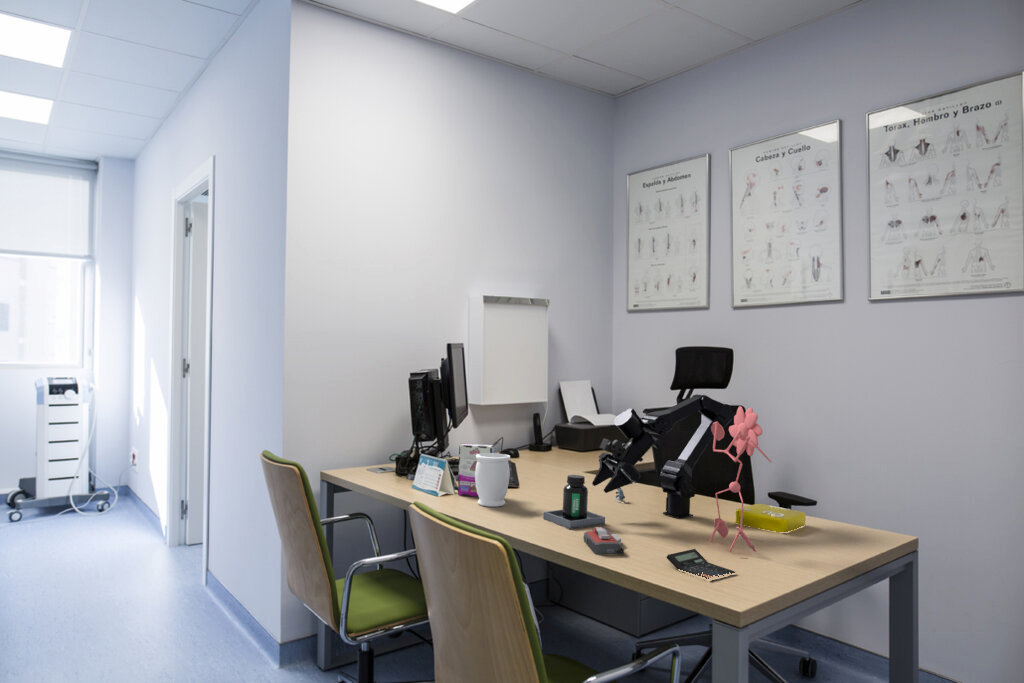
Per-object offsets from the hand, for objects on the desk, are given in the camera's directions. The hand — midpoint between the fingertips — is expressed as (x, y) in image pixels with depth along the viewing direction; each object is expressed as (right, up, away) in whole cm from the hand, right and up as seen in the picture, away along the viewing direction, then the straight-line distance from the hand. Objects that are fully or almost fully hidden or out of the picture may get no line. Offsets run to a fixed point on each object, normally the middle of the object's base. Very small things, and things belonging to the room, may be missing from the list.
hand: (598, 488), depth 185 cm
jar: (-31, -9, +16) cm, 36 cm away
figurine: (+34, -10, -21) cm, 41 cm away
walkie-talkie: (-2, -9, -23) cm, 25 cm away
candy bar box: (-36, -9, +28) cm, 47 cm away
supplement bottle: (-7, -8, -2) cm, 11 cm away
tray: (-7, -9, -2) cm, 12 cm away
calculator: (+17, -9, -41) cm, 45 cm away
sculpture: (+10, -11, +26) cm, 30 cm away
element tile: (+49, -12, +2) cm, 51 cm away
